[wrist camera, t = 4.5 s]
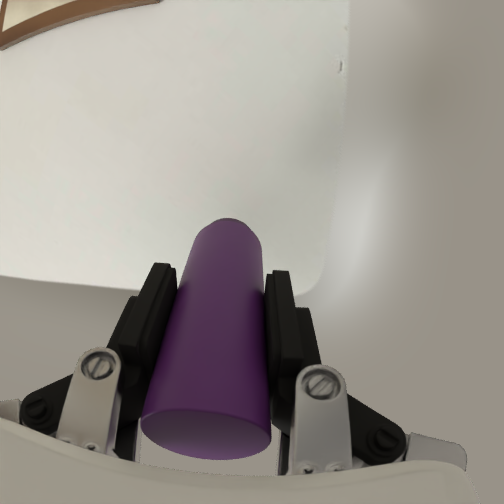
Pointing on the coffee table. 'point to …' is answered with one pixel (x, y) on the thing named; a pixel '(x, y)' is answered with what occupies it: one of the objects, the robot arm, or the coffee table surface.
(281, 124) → the coffee table surface
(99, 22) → the coffee table surface
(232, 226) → the marker
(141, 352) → the robot arm
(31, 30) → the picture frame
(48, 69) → the coffee table surface
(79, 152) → the coffee table surface
